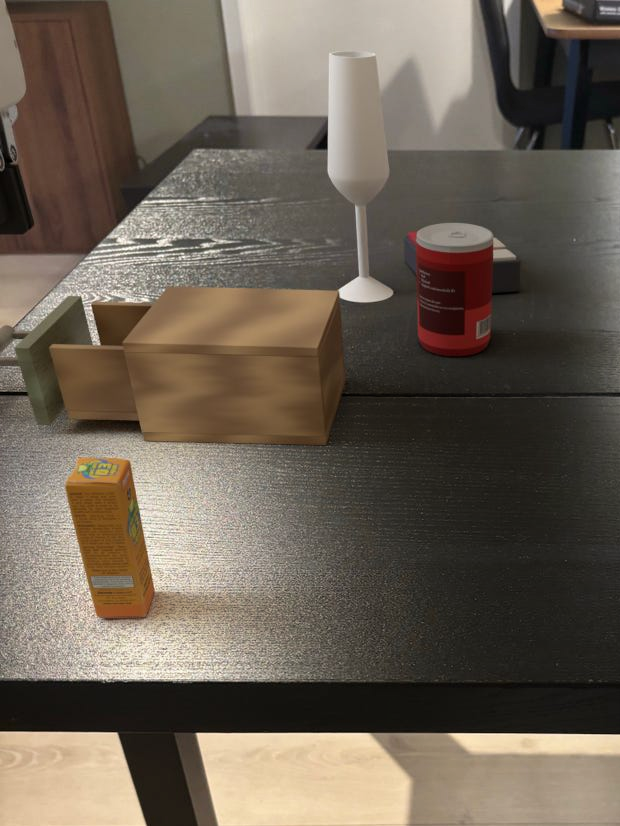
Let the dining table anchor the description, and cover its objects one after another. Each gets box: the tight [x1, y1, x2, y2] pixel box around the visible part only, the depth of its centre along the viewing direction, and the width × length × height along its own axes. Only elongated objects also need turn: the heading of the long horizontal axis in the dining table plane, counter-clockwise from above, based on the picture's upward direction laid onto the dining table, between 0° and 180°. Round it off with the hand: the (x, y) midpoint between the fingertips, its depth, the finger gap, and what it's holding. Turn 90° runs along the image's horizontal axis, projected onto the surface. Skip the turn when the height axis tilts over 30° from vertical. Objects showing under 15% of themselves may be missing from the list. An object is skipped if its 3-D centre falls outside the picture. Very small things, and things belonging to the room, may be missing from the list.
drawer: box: [0, 295, 155, 426], centre depth 83 cm, size 20×12×7 cm, turn 89°
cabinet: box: [122, 285, 347, 446], centre depth 83 cm, size 16×14×9 cm
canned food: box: [416, 222, 494, 357], centre depth 95 cm, size 8×8×11 cm
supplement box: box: [64, 457, 155, 619], centre depth 59 cm, size 3×4×10 cm
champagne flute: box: [327, 50, 394, 303], centre depth 103 cm, size 7×7×24 cm
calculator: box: [403, 231, 522, 294], centre depth 115 cm, size 11×4×15 cm
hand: (7, 230), depth 64 cm, fingers closed
